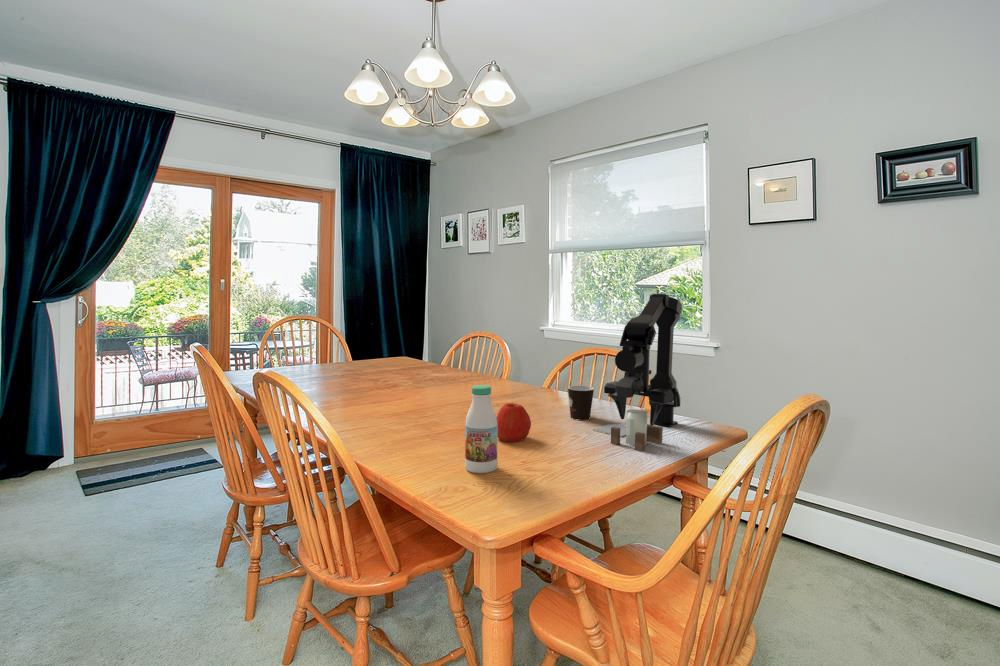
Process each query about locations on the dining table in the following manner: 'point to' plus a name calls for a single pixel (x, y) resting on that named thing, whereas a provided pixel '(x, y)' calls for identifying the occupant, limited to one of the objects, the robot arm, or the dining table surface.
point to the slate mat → (608, 429)
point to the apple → (513, 423)
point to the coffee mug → (580, 401)
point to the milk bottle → (481, 432)
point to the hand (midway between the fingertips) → (636, 422)
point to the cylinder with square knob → (635, 425)
